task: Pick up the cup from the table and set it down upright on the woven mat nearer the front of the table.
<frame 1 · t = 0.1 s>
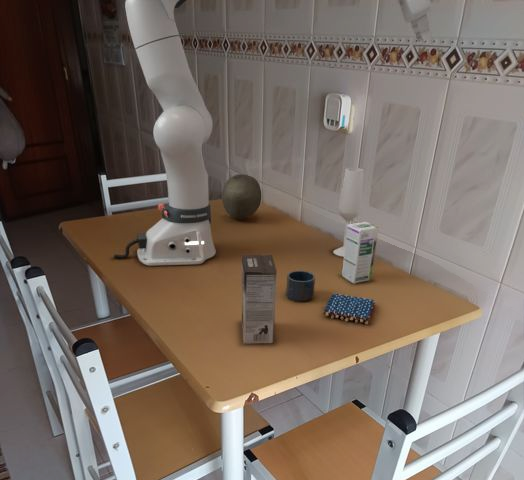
hand: (424, 40, 109), 54 cm above the table, tool tilted 30°, fingers open, 8 cm apart
cup: (299, 296, 121), on the table
woven mat: (349, 312, 115), on the table
coffee box: (256, 333, 105), on the table
cantaloupe: (241, 219, 173), on the table
champagne flute: (344, 253, 148), on the table
syrup box: (355, 278, 132), on the table
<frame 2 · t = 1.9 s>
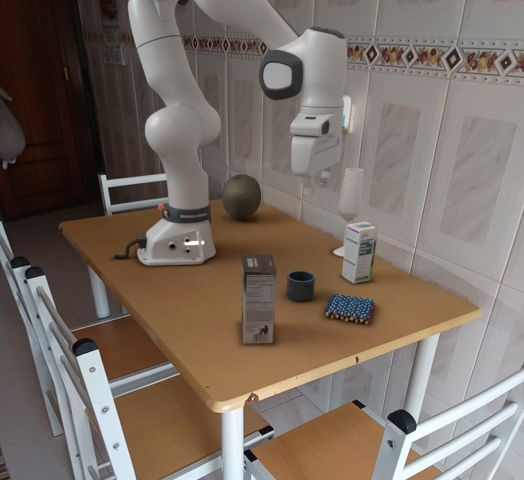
hand: (316, 190, 108), 26 cm above the table, tool pointing down, fingers open, 8 cm apart
nothing on the table moved.
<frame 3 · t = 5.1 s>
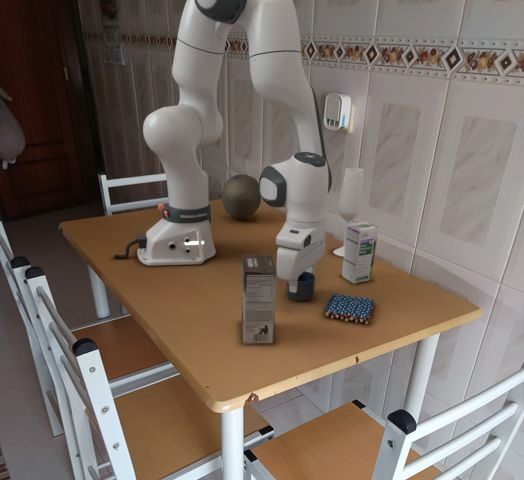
hand: (300, 285, 119), 3 cm above the table, tool pointing down, fingers closed on cup, 7 cm apart
cup: (299, 296, 121), on the table, touching gripper
everything else where it was.
when the fingers open (5 cm above the table, at t = 11.7 s): cup stays where it is, point 2 cm above the table.
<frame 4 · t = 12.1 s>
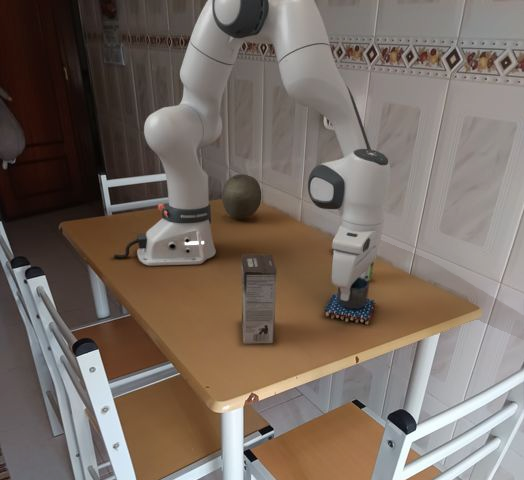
hand: (352, 291, 112), 5 cm above the table, tool pointing down, fingers open, 8 cm apart
cup: (351, 304, 114), point 2 cm above the table
everything else where it was.
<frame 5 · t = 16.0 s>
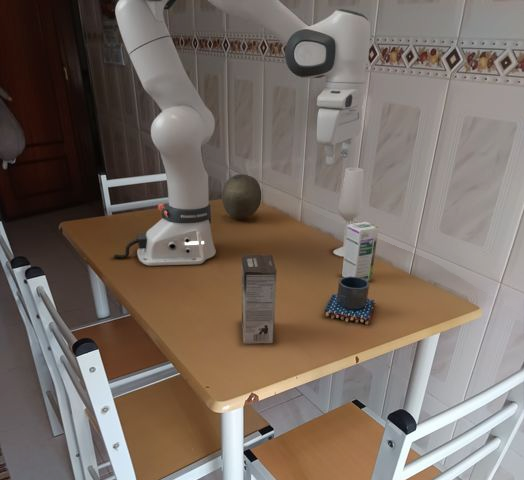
hand: (337, 160, 119), 29 cm above the table, tool pointing down, fingers open, 8 cm apart
cup: (351, 304, 114), point 2 cm above the table, touching woven mat
woven mat: (349, 312, 115), on the table, touching cup
everything else where it was.
at the end: cup inside the target area on the woven mat (0.1 cm from its centre), point 2.2 cm above the woven mat's base; cup tilted 0°; the gripper is holding nothing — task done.
